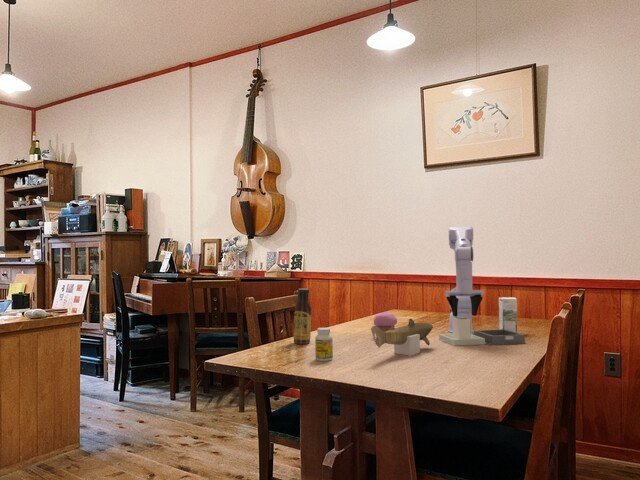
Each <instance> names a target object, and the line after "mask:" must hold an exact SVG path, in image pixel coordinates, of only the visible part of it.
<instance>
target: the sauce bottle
mask: <svg viewBox="0 0 640 480" xmlns="http://www.w3.org/2000/svg"><path fill="white" fill-rule="evenodd" d="M297 293H298V295H297V298H298V299H297V303H296V305H295V307H294V315H293V334H292V335H293V343H294V344H297V345H307V344H310V342H311V333H312V332H311V331H312V330H311V329H312V328H311V327H312V307H311V305H310V303H309V294H310V289H309V288H297Z"/></svg>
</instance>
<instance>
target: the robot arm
mask: <svg viewBox="0 0 640 480" xmlns="http://www.w3.org/2000/svg"><path fill="white" fill-rule="evenodd" d="M473 241H474V228H473V226H449V227H448V245H449V248H450V249H451V250H453V252H454V261H455V275H456V277H455V281H456V286H455V287H454V288H452V289H451V290H445V291H444V296H445V297H446V300H447V301H448V304H449V309H450V310H451V312H450V314H449V318H448V319H449V329H447V332H449V333H451V334H453V318H456V317H461V316H463V317H467V319H470V334H472V335H474V331H473V330H472V329H473V328H472V327H473V326H472V324H473V323H472V321H473V320H472V319H473V318H472V316H474V317H476V316H477V313H478V309H479V307H480V305H481V302H482V301H483V297H484V296H485V295H484V293H485V292H484V290H481V289H475V290H474V289H473V263H474V262H473V261H474V255H475V254H474V248H473Z"/></svg>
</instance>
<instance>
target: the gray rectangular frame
mask: <svg viewBox="0 0 640 480" xmlns="http://www.w3.org/2000/svg"><path fill="white" fill-rule="evenodd" d="M473 332H474V334H473V335H475V336H479V337H482V338H485V344H489V345H496V346H497V345H511V344H512V345H513V344H515V345H516V344H525V343H526V337H525V334H524V333H520V332H517V333H516V332H513V331H509V330H505V329H499V328H498V329H480V330H479V329H477V330H473Z"/></svg>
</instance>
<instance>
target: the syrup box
mask: <svg viewBox="0 0 640 480" xmlns="http://www.w3.org/2000/svg"><path fill="white" fill-rule="evenodd" d="M498 329H505V330H509V331H513V332H516V333H518V299H517V298H516V297H514V296H512V297H510V296H505V297H504V296H501V297H500V296H499V297H498Z"/></svg>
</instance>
